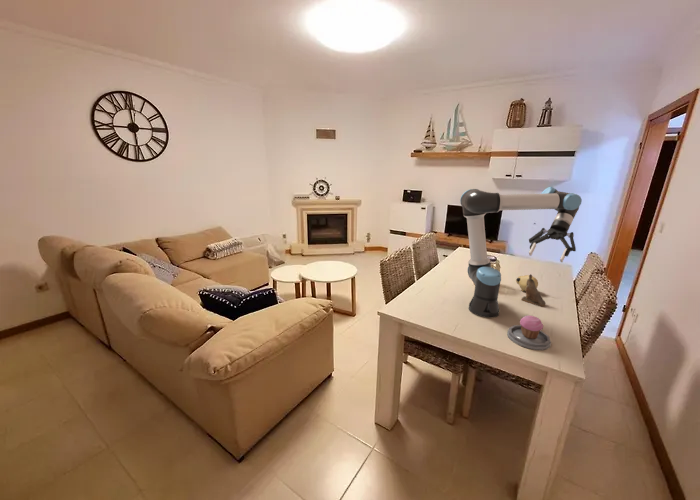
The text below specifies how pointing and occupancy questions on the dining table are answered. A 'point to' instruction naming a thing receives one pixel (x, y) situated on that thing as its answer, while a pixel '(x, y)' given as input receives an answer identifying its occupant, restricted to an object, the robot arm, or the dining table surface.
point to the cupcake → (531, 326)
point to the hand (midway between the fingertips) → (544, 257)
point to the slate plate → (535, 344)
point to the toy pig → (523, 279)
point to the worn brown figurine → (533, 294)
